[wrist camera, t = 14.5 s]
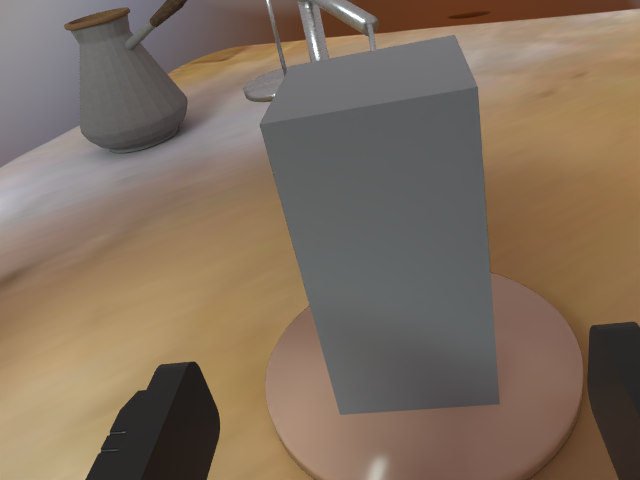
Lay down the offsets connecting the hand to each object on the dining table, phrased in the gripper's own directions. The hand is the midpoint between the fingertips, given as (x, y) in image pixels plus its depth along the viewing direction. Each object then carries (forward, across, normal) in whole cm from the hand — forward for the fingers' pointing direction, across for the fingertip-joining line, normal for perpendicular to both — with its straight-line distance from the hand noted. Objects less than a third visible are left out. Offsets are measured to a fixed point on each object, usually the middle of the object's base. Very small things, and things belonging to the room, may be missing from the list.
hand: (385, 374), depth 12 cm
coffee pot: (+46, +23, +10) cm, 52 cm away
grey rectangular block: (+10, 0, +8) cm, 13 cm away
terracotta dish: (+10, 0, +10) cm, 14 cm away
